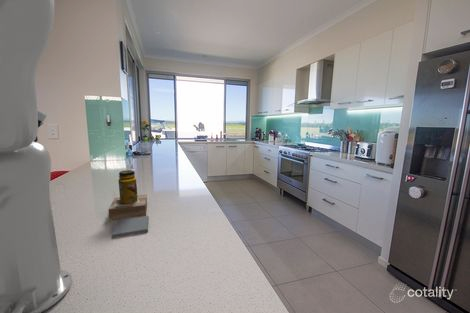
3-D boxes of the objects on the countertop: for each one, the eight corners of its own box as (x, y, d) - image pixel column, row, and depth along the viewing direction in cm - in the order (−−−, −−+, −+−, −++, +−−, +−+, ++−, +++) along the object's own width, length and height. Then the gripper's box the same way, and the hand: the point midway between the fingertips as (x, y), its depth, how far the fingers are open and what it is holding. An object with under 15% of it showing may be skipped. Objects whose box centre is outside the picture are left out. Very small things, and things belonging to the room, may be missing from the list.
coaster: (147, 231, 67) (147, 228, 67) (112, 237, 64) (112, 234, 63) (148, 218, 76) (148, 215, 76) (117, 222, 73) (117, 220, 73)
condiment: (140, 202, 80) (138, 172, 78) (114, 207, 76) (111, 175, 73) (137, 197, 86) (134, 168, 84) (113, 201, 82) (110, 171, 79)
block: (146, 215, 79) (145, 205, 78) (109, 220, 74) (108, 209, 74) (147, 203, 90) (146, 194, 89) (115, 207, 86) (114, 197, 85)
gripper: (-66, 72, 47) (-49, 148, 50) (32, 78, 53) (42, 145, 56) (-38, 78, 54) (-24, 144, 57) (47, 83, 60) (55, 142, 63)
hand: (9, 145), depth 56 cm, fingers open, 9 cm apart
